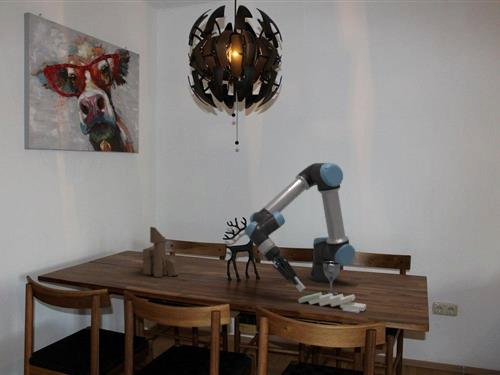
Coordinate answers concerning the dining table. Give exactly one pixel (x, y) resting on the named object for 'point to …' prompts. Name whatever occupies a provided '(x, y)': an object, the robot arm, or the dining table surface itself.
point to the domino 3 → (332, 300)
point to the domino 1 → (310, 297)
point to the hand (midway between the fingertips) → (302, 289)
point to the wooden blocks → (158, 257)
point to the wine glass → (331, 273)
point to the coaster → (351, 310)
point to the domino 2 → (321, 298)
